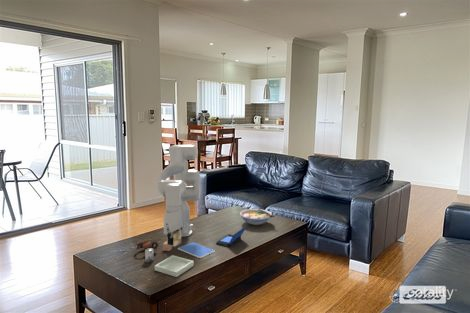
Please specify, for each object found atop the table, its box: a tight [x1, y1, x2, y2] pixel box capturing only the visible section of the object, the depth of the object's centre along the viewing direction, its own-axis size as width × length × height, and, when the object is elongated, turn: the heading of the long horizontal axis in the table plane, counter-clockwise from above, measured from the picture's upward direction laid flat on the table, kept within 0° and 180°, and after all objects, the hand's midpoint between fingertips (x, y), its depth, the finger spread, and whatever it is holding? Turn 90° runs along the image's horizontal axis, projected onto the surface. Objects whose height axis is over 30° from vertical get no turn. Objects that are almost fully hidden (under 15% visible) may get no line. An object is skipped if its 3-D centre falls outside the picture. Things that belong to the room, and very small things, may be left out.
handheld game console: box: [216, 226, 247, 248], centre depth 204 cm, size 16×13×9 cm
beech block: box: [166, 230, 182, 247], centre depth 168 cm, size 5×5×6 cm
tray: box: [154, 254, 195, 278], centre depth 170 cm, size 14×14×2 cm
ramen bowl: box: [239, 207, 275, 226], centre depth 238 cm, size 25×23×8 cm
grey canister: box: [144, 248, 155, 263], centre depth 178 cm, size 4×4×6 cm
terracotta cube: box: [162, 240, 173, 252], centre depth 193 cm, size 4×4×4 cm
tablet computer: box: [177, 241, 216, 259], centre depth 192 cm, size 19×13×1 cm, turn 49°
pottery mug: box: [136, 239, 159, 257], centre depth 188 cm, size 12×10×8 cm
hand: (174, 242), depth 168 cm, fingers closed on beech block, 5 cm apart
